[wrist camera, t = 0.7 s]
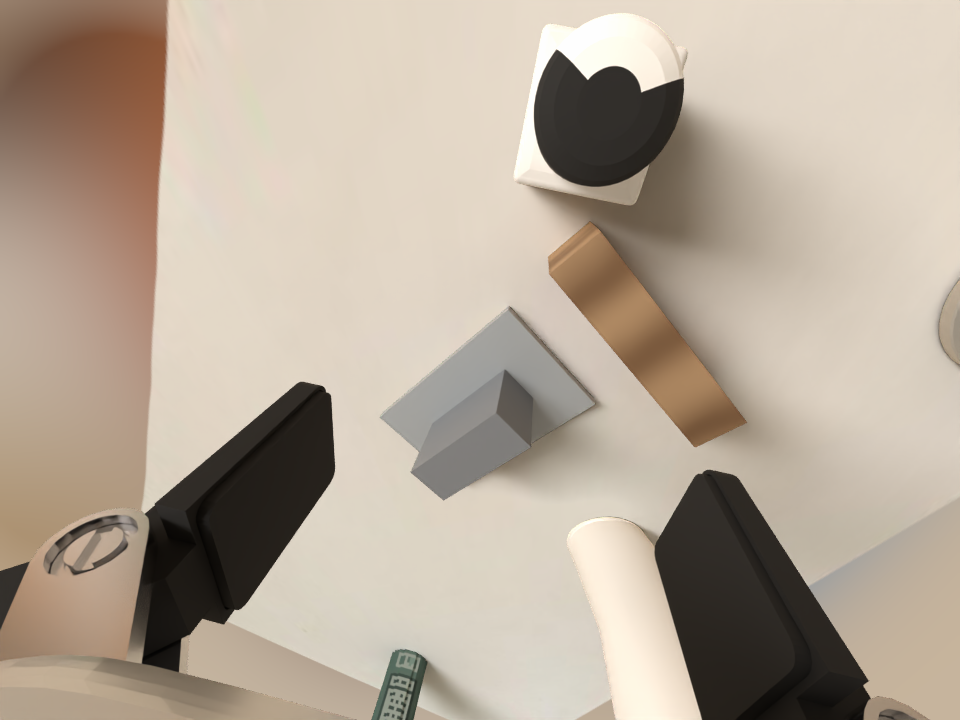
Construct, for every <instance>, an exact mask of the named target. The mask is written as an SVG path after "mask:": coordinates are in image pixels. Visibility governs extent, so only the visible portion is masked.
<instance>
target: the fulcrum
mask: <svg viewBox="0 0 960 720" xmlns="http://www.w3.org/2000/svg"><path fill="white" fill-rule="evenodd" d="M593 405H595V402H594V398H593V397H592V396H591V395H590V394H589V393H588V392H587V391H586V389H585V388H584V387H583V386H582V385H581V384H580V383H579V382H578V381H577V380H576V379H575V377H574V376H573V375H572V374H571V373H570V372H569V371H568V370H567V369H566V368H565V367H564V365H563V364H562V363H561V362H560V361H559V360H558V359H557V358H556V357H555V356H554V355H553V353H552V352H551V351H550V350H549V349H548V348H547V347H546V346H545V345H544V344H543V343H542V341H541V340H540V339H539V338H538V337H537V336H536V335H535V334H534V333H533V332H532V330H531V329H530V328H529V327H528V326H527V325H526V324H525V323H524V322H523V321H522V320H521V318H520V317H519V316H518V315H517V314H516V313H515V312H514V311H513V310H512V309H511V308H510V306H509V307H508V308H506V309H505V310H504V311H503V312H502V313H500V314H499V315H498V316H497V317H496V318H495V319H493V320H492V321H491V322H490V323H489V324H487V325H486V326H485V327H484V328H483V329H481V330H480V331H479V332H478V333H477V334H475V335H474V336H473V337H472V338H471V339H470V340H468V341H467V342H466V343H465V344H464V345H462V346H461V347H460V348H459V349H458V350H456V351H455V352H454V353H453V354H452V355H451V356H449V357H448V358H447V359H446V360H445V361H443V362H442V363H441V364H440V365H439V366H437V367H436V368H435V369H434V370H433V371H432V372H430V373H429V374H428V375H427V376H426V377H424V378H423V379H422V380H421V381H420V382H418V383H417V384H416V385H415V386H414V387H412V388H411V389H410V390H409V391H408V392H407V393H405V394H404V395H403V396H402V397H401V398H399V399H398V400H397V401H396V402H395V403H393V404H392V405H391V406H390V407H389V408H388V409H386V410H385V411H384V412H383V413H382V415H381V416H380V418H381V419H382V420H383V421H385V422H386V423H387V424H388V425H389V426H390V427H391V428H393V429H394V430H395V431H396V432H397V433H398V434H399V435H401V436H402V437H403V438H404V439H405V440H406V441H407V442H409V443H410V444H411V445H412V446H413V447H414V448H415V449H417V450H418V451H419V454H418V457H417V459H416V461H415V463H414V466H413V468H412V470H411V473H412V474H413V475H414V476H415V477H417V478H418V479H419V480H420V481H421V482H423V483H424V484H425V485H426V486H427V487H428V488H430V489H431V490H432V491H433V492H434V493H435V494H437V495H438V496H439V497H440V498H441V499H442V500H445V499H447V498H448V497H450V496H452V495H453V494H455V493H457V492H458V491H460V490H462V489H463V488H465V487H466V486H468V485H470V484H471V483H473V482H475V481H476V480H478V479H480V478H481V477H483V476H485V475H486V474H488V473H490V472H491V471H493V470H494V469H496V468H498V467H499V466H501V465H503V464H504V463H506V462H508V461H509V460H511V459H513V458H514V457H516V456H517V455H519V454H521V453H522V452H524V451H526V450H527V449H529V448H531V443H533V442H535V441H536V440H538V439H540V438H541V437H543V436H544V435H546V434H548V433H549V432H551V431H553V430H554V429H556V428H558V427H559V426H561V425H562V424H564V423H566V422H567V421H569V420H571V419H572V418H574V417H575V416H577V415H579V414H580V413H582V412H584V411H585V410H587V409H589V408H590V407H592V406H593Z"/></svg>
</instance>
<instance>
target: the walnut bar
mask: <svg viewBox="0 0 960 720" xmlns="http://www.w3.org/2000/svg"><path fill="white" fill-rule="evenodd" d="M548 262H549V274H550V276H551V277H552V278H553V279H554V280H555V281H556V283H557V284H558V285H559V286H560V287H561V289H562V290H563V291H564V292H565V293H566V295H567V296H568V297H569V298H570V299H571V301H572V302H573V303H574V304H575V305H576V307H577V308H578V309H579V310H580V311H581V312H582V314H583V315H584V316H585V317H586V318H587V320H588V321H589V322H590V323H591V324H592V326H593V327H594V328H595V329H596V330H597V332H598V333H599V334H600V335H601V336H602V337H603V339H604V340H605V341H606V342H607V343H608V345H609V346H610V347H611V348H612V349H613V351H614V352H615V353H616V354H617V355H618V357H619V358H620V359H621V360H622V361H623V363H624V364H625V365H626V366H627V367H628V368H629V370H630V371H631V372H632V373H633V374H634V376H635V377H636V378H637V379H638V380H639V382H640V383H641V384H642V385H643V386H644V388H645V389H646V390H647V391H648V392H649V394H650V395H651V396H652V397H653V398H654V399H655V401H656V402H657V403H658V404H659V405H660V407H661V408H662V409H663V410H664V411H665V413H666V414H667V415H668V416H669V417H670V419H671V420H672V421H673V422H674V423H675V425H676V426H677V427H678V428H679V429H680V430H681V432H682V433H683V434H684V435H685V436H686V438H687V439H688V440H689V441H690V442H691V444H692V445H693V446H694V447H697V446H699V445H702V444H704V443H706V442H708V441H710V440H712V439H714V438H716V437H718V436H720V435H722V434H724V433H726V432H729V431H731V430H733V429H735V428H737V427H739V426H741V425H743V424H745V423H747V422H746V420H745V419H744V418H743V416H742V415H741V414H740V413H739V411H738V410H737V409H736V407H735V406H734V405H733V403H732V402H731V401H730V399H729V398H728V397H727V396H726V394H725V393H724V392H723V390H722V389H721V388H720V386H719V385H718V384H717V382H716V381H715V380H714V379H713V377H712V376H711V375H710V373H709V372H708V371H707V369H706V368H705V367H704V366H703V364H702V363H701V362H700V360H699V359H698V358H697V356H696V355H695V354H694V352H693V351H692V350H691V349H690V347H689V346H688V345H687V343H686V342H685V341H684V339H683V338H682V337H681V336H680V334H679V333H678V332H677V330H676V329H675V328H674V326H673V325H672V324H671V322H670V321H669V320H668V319H667V317H666V316H665V315H664V313H663V312H662V311H661V309H660V308H659V307H658V306H657V304H656V303H655V302H654V300H653V299H652V298H651V296H650V295H649V294H648V292H647V291H646V290H645V289H644V287H643V286H642V285H641V283H640V282H639V281H638V279H637V278H636V277H635V275H634V274H633V273H632V272H631V270H630V269H629V268H628V266H627V265H626V264H625V262H624V261H623V260H622V259H621V257H620V256H619V255H618V253H617V252H616V251H615V249H614V248H613V247H612V245H611V244H610V243H609V242H608V240H607V239H606V238H605V236H604V235H603V234H602V232H601V231H600V230H599V229H598V228H597V227H596V226H594V225H593V224H592V223H591V222H589V223H588V224H586V225H585V226H584V227H583V228H582V229H580V230H579V231H578V232H577V233H576V234H575V235H573V236H572V237H571V238H570V239H569V240H568V241H566V242H565V243H564V244H563V245H562V246H560V247H559V248H558V249H557V250H556V251H555V252H553V253H552V254H551V255H550V256H549V257H548Z"/></svg>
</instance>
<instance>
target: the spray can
mask: <svg viewBox="0 0 960 720" xmlns="http://www.w3.org/2000/svg"><path fill="white" fill-rule="evenodd" d="M567 547H568V550H569V552H570V554H571V557H572V559H573V561H574V564H575V566H576V569H577V571H578V574H579V577H580V579H581V582H582V585H583V587H584V590H585V593H586V595H587V598H588V601H589V604H590V606H591V609H592V612H593V615H594V617H595V620H596V623H597V626H598V628H599V631H600V636H601V642H602V647H603V653H604V658H605V664H606V670H607V675H608V681H609V686H610V692H611V697H612V703H613V709H614V714H615V720H702V718H701V715H700V711H699V708H698V704H697V701H696V698H695V694H694V691H693V687H692V684H691V680H690V677H689V674H688V670H687V667H686V663H685V660H684V656H683V653H682V649H681V646H680V643H679V639H678V636H677V632H676V629H675V625H674V622H673V619H672V615H671V612H670V608H669V605H668V601H667V598H666V595H665V591H664V588H663V584H662V581H661V577H660V574H659V571H658V567H657V564H656V560H655V554H654V551H655V547H654V546H653V544H652V543H651V542H650V540H649V539H648V538H647V537H646V535H645V534H644V532H643V531H642V530H641V529H640V528H639V527H638V526H637V525H635V524H634V523H632V522H630V521H627V520H624V519H621V518H616V517H599V518H593V519H589V520H586V521H584V522H582V523H580V524H578V525H577V526H575V527H574V528H573V529H572V530H571V532H570V533H569V535H568V537H567Z"/></svg>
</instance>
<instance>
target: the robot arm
mask: <svg viewBox="0 0 960 720" xmlns="http://www.w3.org/2000/svg"><path fill="white" fill-rule="evenodd" d="M939 335H940V340H941V343H942V345H943V348H944V350H945V351H946V353H947V354H948V355H949V356H950V358H951V359H952V360H953V361H955V362H956V363H958V364H959V365H960V280H959V281H958V282H957V284H956V285H955V287H954V288H953V289H952V291H951V292H950V294H949V296H948V298H947V301H946V303H945V305H944V307H943V309H942V314H941V318H940V322H939ZM334 473H335V458H334V440H333V421H332V403H331V395H330V394H329V393H326V390H325V388H324V387H323V386H320V385H315V384H311V383H306V382H299V383H297V384H296V385H295V386H294V387H292V388H291V389H290V390H289V391H288V392H287V393H285V394H284V395H283V396H282V397H281V398H279V399H278V400H277V401H276V402H275V403H273V404H272V405H271V406H270V407H269V408H268V409H266V410H265V411H264V412H263V413H262V414H260V415H259V416H258V417H257V418H256V419H254V420H253V421H252V422H251V423H250V424H249V425H247V426H246V427H245V428H244V429H243V430H241V431H240V432H239V433H238V434H237V435H236V436H234V437H233V438H232V439H231V440H230V441H228V442H227V443H226V444H225V445H224V446H222V447H221V448H220V449H219V450H218V451H217V452H215V453H214V454H213V455H212V456H211V457H209V458H208V459H207V460H206V461H205V462H203V463H202V464H201V465H200V466H199V467H198V468H196V469H195V470H194V471H193V472H192V473H190V474H189V475H188V476H187V477H186V478H184V479H183V480H182V481H181V482H180V483H179V484H177V485H176V486H175V487H174V488H173V489H171V490H170V491H169V492H168V493H167V494H166V495H164V496H163V497H162V498H161V499H160V500H158V501H157V502H156V503H155V506H154V507H152V508H151V509H150V510H149V511H148V512H147V513H145V514H144V513H143V512H142V511H139V510H136V509H133V508H116V509H110V510H104V511H100V512H98V513H94V514H91V515H88V516H85V517H83V518H81V519H79V520H77V521H75V522H73V523H71V524H69V525H67V526H66V527H64V528H63V529H61V530H60V531H58V532H57V533H55V534H54V535H52V536H51V537H50V538H49V539H48V540H47V541H46V542H45V543H44V544H43V545H42V546H41V547H39V549H38V550H37V552H36V553H35V555H34V556H33V558H32V559H31V561H30V562H27V563H24V564H21V565H18V566H15V567H12V568H8V569H5V570H2V571H0V720H355V719H351V718H348V717H344V716H341V715H337V714H333V713H330V712H326V711H323V710H319V709H315V708H311V707H308V706H304V705H301V704H297V703H293V702H290V701H286V700H282V699H279V698H275V697H271V696H268V695H264V694H261V693H257V692H254V691H250V690H246V689H243V688H239V687H235V686H231V685H227V684H223V683H218V682H215V681H211V680H207V679H203V678H199V677H195V676H191V675H187V667H188V651H189V635H190V634H191V632H192V631H193V630H194V629H195V627H196V626H197V625H198V623H199V622H200V621H201V620H202V619H206V620H209V621H213V622H216V623H220V624H225V622H226V621H227V619H228V618H229V617H230V615H231V614H232V612H233V611H234V610H239V609H241V608H242V607H243V606H245V604H246V603H247V602H248V601H249V599H250V598H251V596H252V595H253V593H254V592H255V591H256V589H257V588H258V586H259V585H260V583H261V582H262V580H263V579H264V578H265V576H266V575H267V573H268V572H269V570H270V569H271V568H272V566H273V565H274V563H275V562H276V560H277V559H278V557H279V556H280V555H281V553H282V552H283V550H284V549H285V547H286V546H287V544H288V543H289V542H290V540H291V539H292V537H293V536H294V534H295V533H296V532H297V530H298V529H299V527H300V526H301V524H302V523H303V521H304V520H305V519H306V517H307V516H308V514H309V513H310V511H311V510H312V508H313V507H314V506H315V504H316V503H317V501H318V500H319V498H320V497H321V496H322V494H323V493H324V491H325V490H326V488H327V487H328V485H329V484H330V482H331V481H332V479H333V476H334ZM654 554H655V560H656V564H657V567H658V571H659V574H660V577H661V581H662V584H663V588H664V591H665V595H666V598H667V601H668V605H669V608H670V612H671V615H672V619H673V622H674V625H675V629H676V632H677V636H678V639H679V643H680V646H681V649H682V653H683V656H684V660H685V663H686V667H687V670H688V674H689V677H690V680H691V684H692V687H693V691H694V694H695V698H696V701H697V704H698V708H699V711H700V715H701V718H702V720H929V719H928V718H926V717H925V716H923V715H922V714H920V713H919V712H917V711H915V710H914V709H912V708H911V707H909V706H907V705H905V704H903V703H901V702H898V701H896V700H894V699H891V698H886V697H879V696H877V697H875V698H872V699H871V698H870V696H869V695H868V693H867V691H866V690H865V688H864V687H863V685H864V684H865V683H867V682H868V679H867V678H866V676H865V674H864V673H863V671H862V670H861V669H860V667H859V665H858V664H857V662H856V660H855V659H854V658H853V656H852V654H851V653H850V651H849V650H848V648H847V646H846V645H845V643H844V642H843V640H842V639H841V637H840V636H839V634H838V632H837V631H836V630H835V628H834V626H833V625H832V623H831V622H830V620H829V618H828V617H827V615H826V614H825V612H824V611H823V609H822V608H821V606H820V604H819V603H818V601H817V600H816V598H815V597H814V595H813V594H812V592H811V591H810V589H809V587H808V586H807V584H806V583H805V581H804V580H803V578H802V577H801V575H800V573H799V572H798V570H797V569H796V567H795V566H794V564H793V563H792V561H791V559H790V558H789V556H788V555H787V553H786V552H785V550H784V549H783V547H782V545H781V544H780V542H779V541H778V539H777V538H776V536H775V535H774V533H773V531H772V530H771V528H770V527H769V525H768V524H767V522H766V521H765V519H764V518H763V516H762V514H761V513H760V511H759V510H758V508H757V507H756V505H755V504H754V502H753V500H752V499H751V497H750V496H749V494H748V493H747V491H746V490H745V488H744V486H743V485H742V483H741V482H740V480H739V479H738V478H737V477H736V476H734V475H731V474H727V473H722V472H718V471H713V470H706V471H704V472H703V473H702V474H697V475H696V476H695V477H694V479H693V481H692V482H691V484H690V486H689V487H688V489H687V491H686V493H685V494H684V496H683V498H682V499H681V501H680V503H679V505H678V506H677V508H676V510H675V511H674V513H673V515H672V517H671V518H670V520H669V522H668V523H667V525H666V527H665V529H664V530H663V532H662V534H661V535H660V537H659V539H658V541H657V542H656V545H655V551H654Z"/></svg>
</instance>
